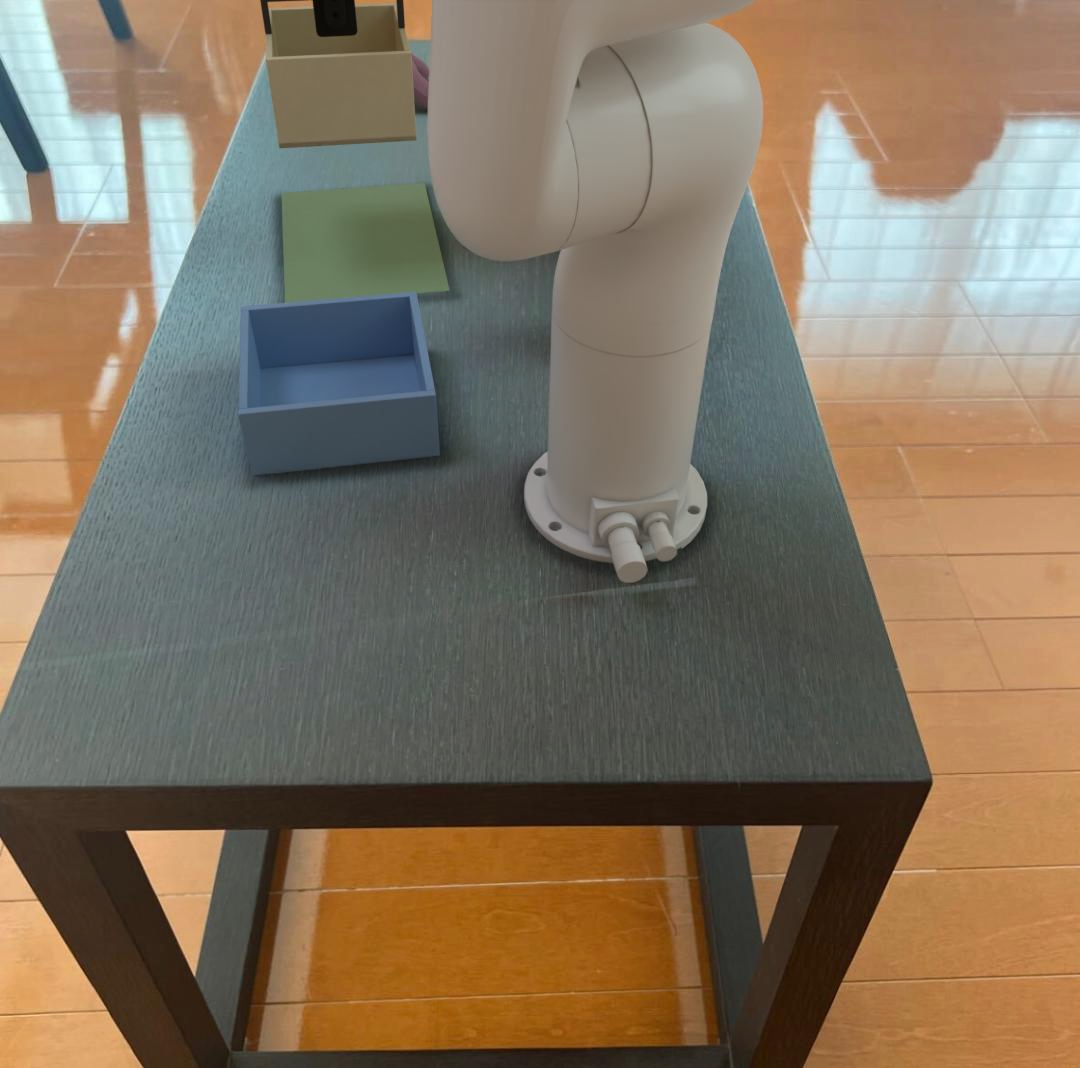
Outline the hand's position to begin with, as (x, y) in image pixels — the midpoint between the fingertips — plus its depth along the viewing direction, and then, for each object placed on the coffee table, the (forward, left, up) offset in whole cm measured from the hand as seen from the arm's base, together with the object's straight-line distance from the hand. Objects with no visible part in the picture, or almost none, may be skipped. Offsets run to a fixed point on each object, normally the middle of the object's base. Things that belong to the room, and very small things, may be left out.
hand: (336, 28), depth 85 cm
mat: (0, 0, -19) cm, 19 cm away
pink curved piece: (+32, -8, -19) cm, 38 cm away
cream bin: (0, 0, -7) cm, 7 cm away
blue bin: (-25, +3, -19) cm, 32 cm away
